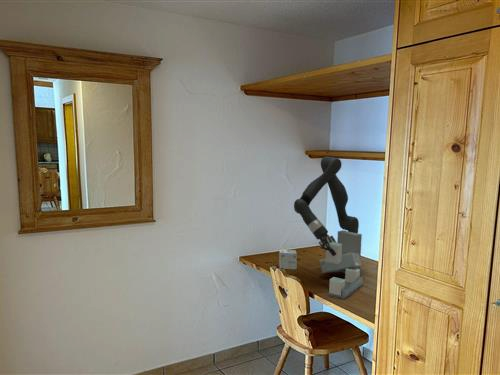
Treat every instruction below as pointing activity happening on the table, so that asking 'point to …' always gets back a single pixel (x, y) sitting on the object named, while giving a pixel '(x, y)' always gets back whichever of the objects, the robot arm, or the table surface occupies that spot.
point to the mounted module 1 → (336, 286)
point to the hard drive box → (341, 263)
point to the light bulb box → (288, 259)
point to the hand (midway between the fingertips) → (336, 253)
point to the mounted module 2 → (352, 274)
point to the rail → (349, 288)
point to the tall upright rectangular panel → (350, 243)
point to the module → (338, 250)
